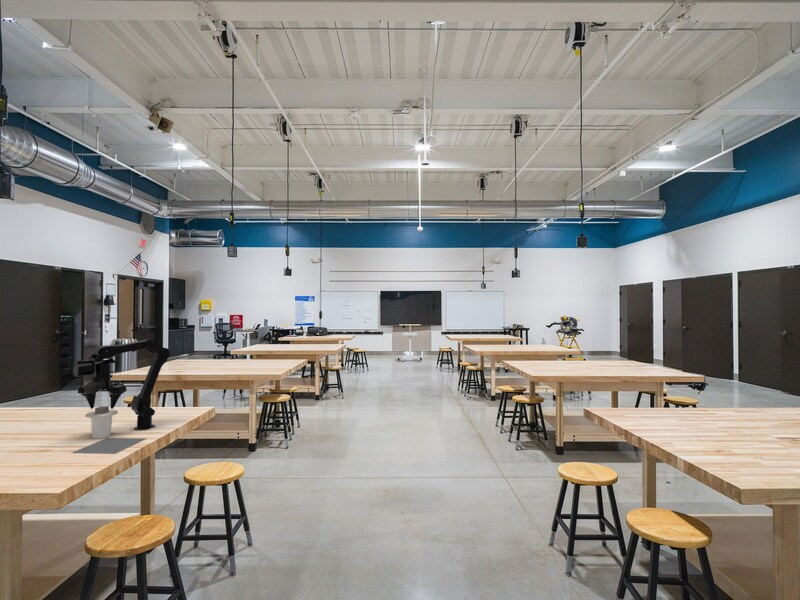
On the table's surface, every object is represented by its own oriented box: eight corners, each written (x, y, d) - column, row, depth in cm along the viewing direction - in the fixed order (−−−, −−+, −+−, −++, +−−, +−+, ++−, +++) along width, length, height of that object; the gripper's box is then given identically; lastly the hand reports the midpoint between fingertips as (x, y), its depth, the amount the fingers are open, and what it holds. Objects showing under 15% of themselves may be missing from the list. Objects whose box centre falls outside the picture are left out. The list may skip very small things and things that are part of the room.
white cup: (87, 440, 185) (87, 417, 185) (95, 434, 193) (95, 412, 193) (108, 438, 187) (108, 415, 188) (114, 433, 195) (115, 411, 195)
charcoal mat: (107, 438, 187) (107, 437, 187) (147, 439, 186) (147, 438, 186) (70, 454, 167) (70, 452, 167) (115, 455, 166) (115, 453, 166)
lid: (99, 411, 197) (99, 404, 197) (124, 411, 196) (124, 404, 196) (78, 417, 185) (78, 410, 185) (104, 418, 184) (104, 410, 184)
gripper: (68, 376, 183) (67, 412, 183) (110, 376, 182) (109, 413, 182) (87, 372, 194) (87, 406, 194) (127, 372, 193) (127, 407, 193)
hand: (102, 408), depth 190 cm, fingers open, 9 cm apart
